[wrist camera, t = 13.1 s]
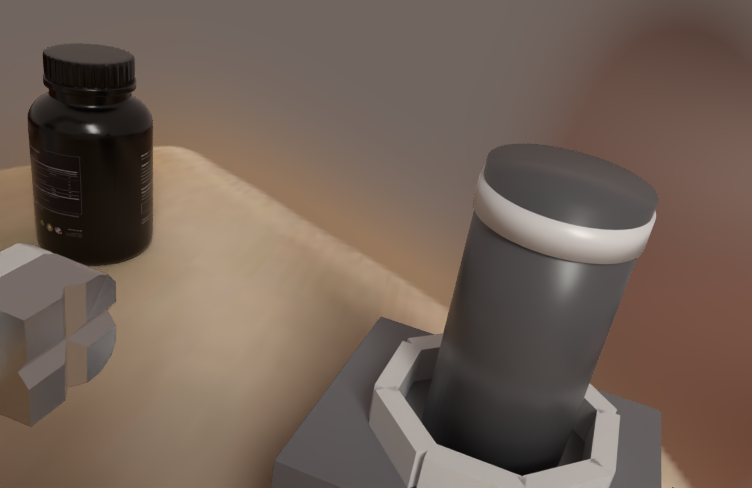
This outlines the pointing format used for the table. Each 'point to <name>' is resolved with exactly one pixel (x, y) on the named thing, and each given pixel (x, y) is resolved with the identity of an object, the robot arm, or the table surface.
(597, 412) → the camera body block
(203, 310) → the table surface
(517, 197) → the lens
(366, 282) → the table surface
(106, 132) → the supplement bottle
